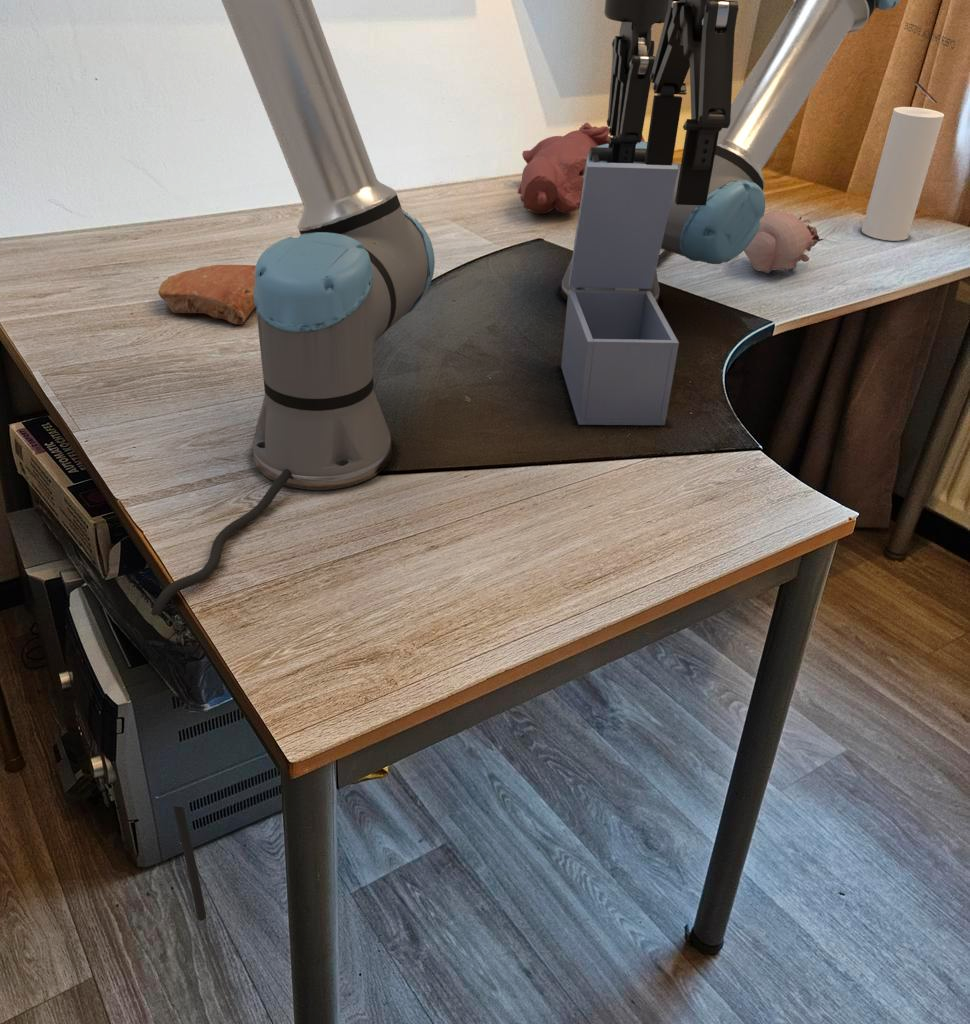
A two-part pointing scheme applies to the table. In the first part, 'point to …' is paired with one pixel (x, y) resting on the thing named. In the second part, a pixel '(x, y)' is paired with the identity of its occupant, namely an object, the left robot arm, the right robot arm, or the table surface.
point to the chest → (618, 357)
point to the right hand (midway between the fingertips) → (616, 194)
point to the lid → (621, 221)
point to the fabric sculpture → (559, 169)
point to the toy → (781, 242)
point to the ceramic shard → (212, 291)
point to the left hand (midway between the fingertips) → (673, 183)
